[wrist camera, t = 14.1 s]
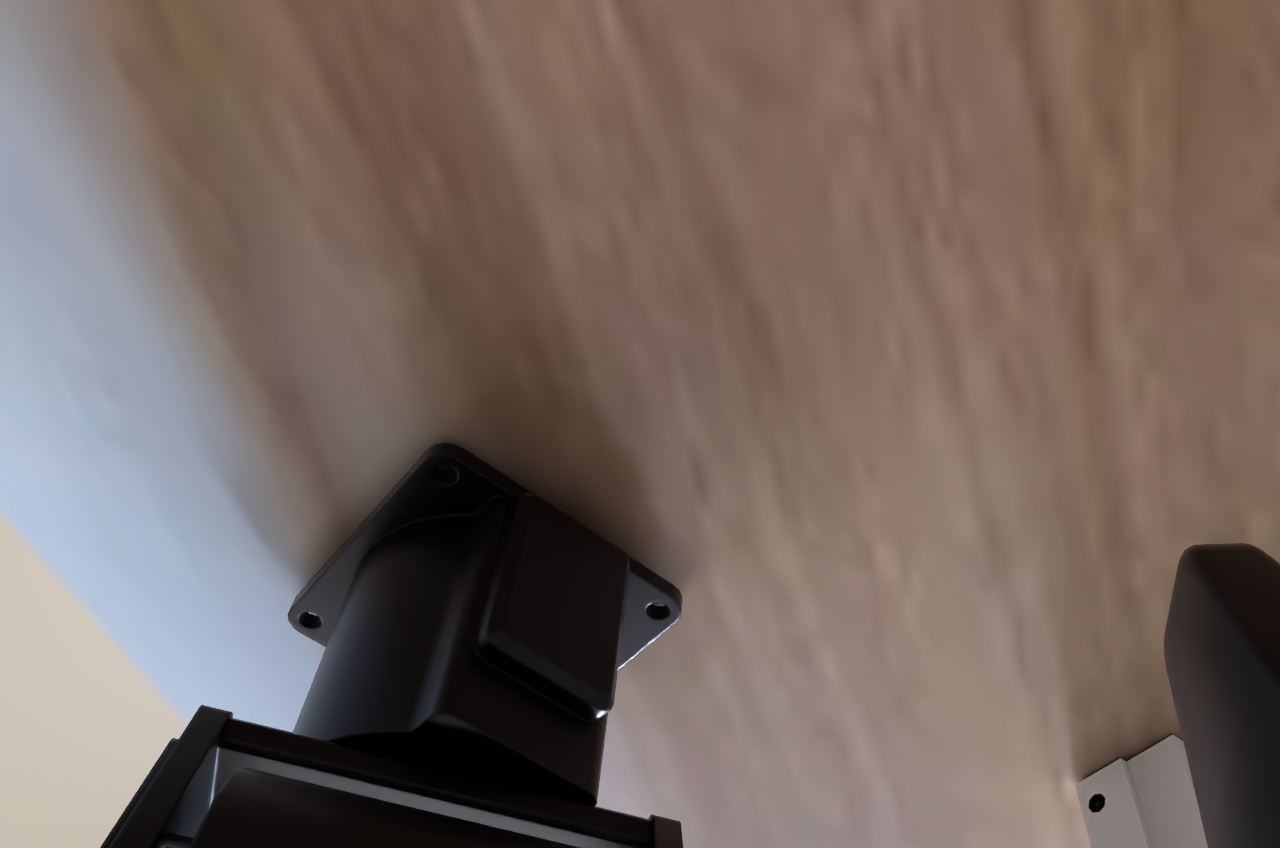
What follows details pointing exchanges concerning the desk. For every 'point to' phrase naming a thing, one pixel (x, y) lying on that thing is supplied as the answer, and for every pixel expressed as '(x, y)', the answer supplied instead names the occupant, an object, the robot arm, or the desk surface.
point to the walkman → (1143, 801)
